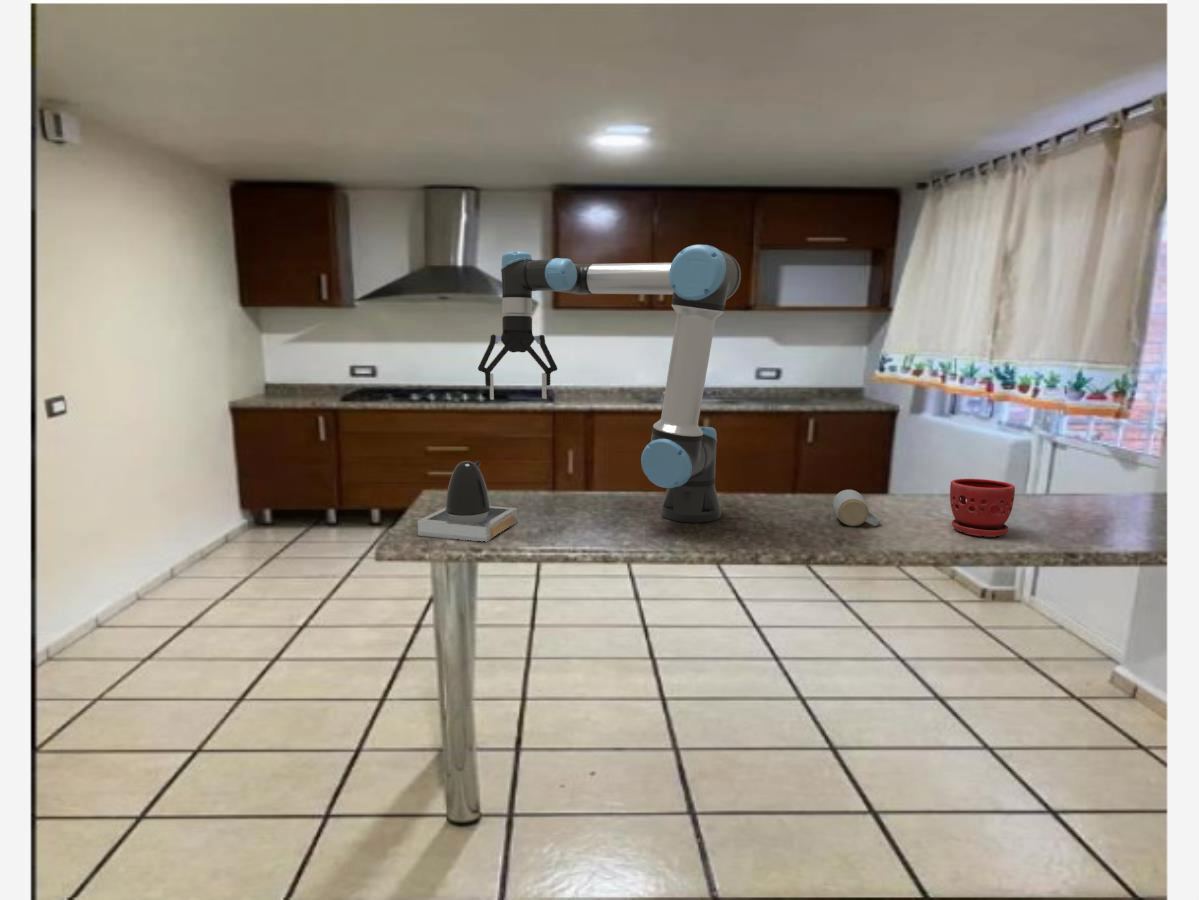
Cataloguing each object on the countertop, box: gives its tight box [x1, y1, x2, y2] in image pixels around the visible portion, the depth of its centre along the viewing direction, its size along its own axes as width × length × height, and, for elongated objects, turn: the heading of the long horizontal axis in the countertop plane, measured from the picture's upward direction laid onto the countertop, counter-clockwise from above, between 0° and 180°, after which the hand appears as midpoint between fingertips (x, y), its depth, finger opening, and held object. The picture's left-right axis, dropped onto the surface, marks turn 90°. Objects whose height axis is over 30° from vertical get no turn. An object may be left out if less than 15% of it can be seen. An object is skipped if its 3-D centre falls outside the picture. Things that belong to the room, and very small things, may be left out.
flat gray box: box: [417, 505, 518, 543], centre depth 156 cm, size 18×17×4 cm
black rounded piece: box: [444, 460, 491, 524], centre depth 155 cm, size 10×10×15 cm
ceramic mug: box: [832, 489, 881, 527], centre depth 163 cm, size 11×8×8 cm
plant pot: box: [949, 478, 1016, 538], centre depth 156 cm, size 13×13×12 cm
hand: (518, 398), depth 173 cm, fingers open, 13 cm apart
